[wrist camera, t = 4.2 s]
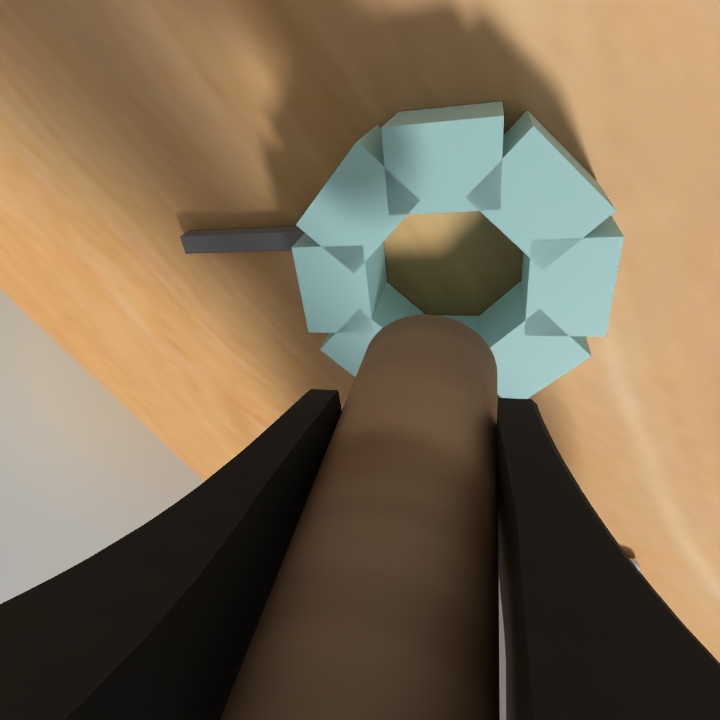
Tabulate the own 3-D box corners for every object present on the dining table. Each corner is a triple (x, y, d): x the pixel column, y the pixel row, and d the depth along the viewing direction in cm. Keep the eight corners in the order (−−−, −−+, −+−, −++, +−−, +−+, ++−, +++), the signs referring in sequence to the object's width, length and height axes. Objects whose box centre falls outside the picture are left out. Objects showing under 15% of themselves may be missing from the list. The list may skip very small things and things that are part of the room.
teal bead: (578, 369, 19) (590, 418, 17) (341, 362, 22) (322, 404, 19) (622, 89, 14) (648, 101, 12) (302, 121, 16) (269, 137, 14)
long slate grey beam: (332, 242, 19) (327, 249, 18) (194, 247, 20) (185, 253, 20) (329, 224, 18) (324, 230, 18) (189, 230, 20) (180, 236, 19)
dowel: (497, 425, 12) (500, 874, 6) (373, 421, 13) (255, 807, 7) (497, 311, 10) (500, 770, 4) (354, 316, 11) (169, 698, 5)
